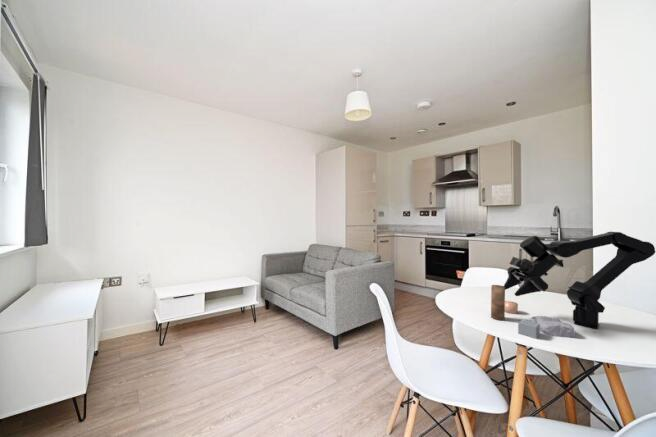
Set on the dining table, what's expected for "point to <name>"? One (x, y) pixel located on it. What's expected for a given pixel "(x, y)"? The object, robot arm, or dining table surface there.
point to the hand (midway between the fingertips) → (509, 291)
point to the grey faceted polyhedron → (529, 328)
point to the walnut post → (498, 302)
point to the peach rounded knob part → (511, 307)
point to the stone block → (554, 326)
